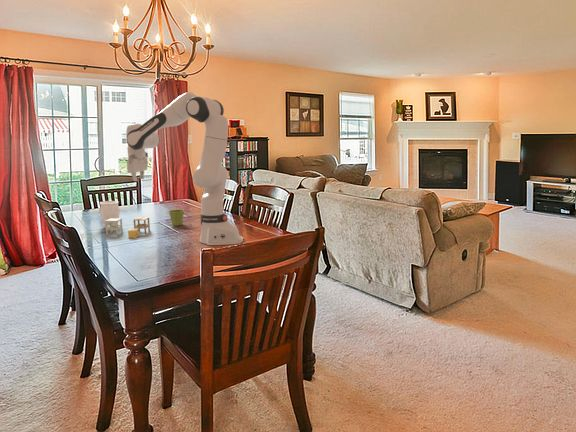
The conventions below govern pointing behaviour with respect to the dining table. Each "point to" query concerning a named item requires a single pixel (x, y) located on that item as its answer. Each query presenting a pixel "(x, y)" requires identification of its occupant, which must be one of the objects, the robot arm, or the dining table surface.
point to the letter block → (133, 233)
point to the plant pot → (176, 217)
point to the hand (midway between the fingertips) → (138, 179)
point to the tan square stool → (142, 226)
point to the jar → (109, 211)
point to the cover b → (114, 227)
